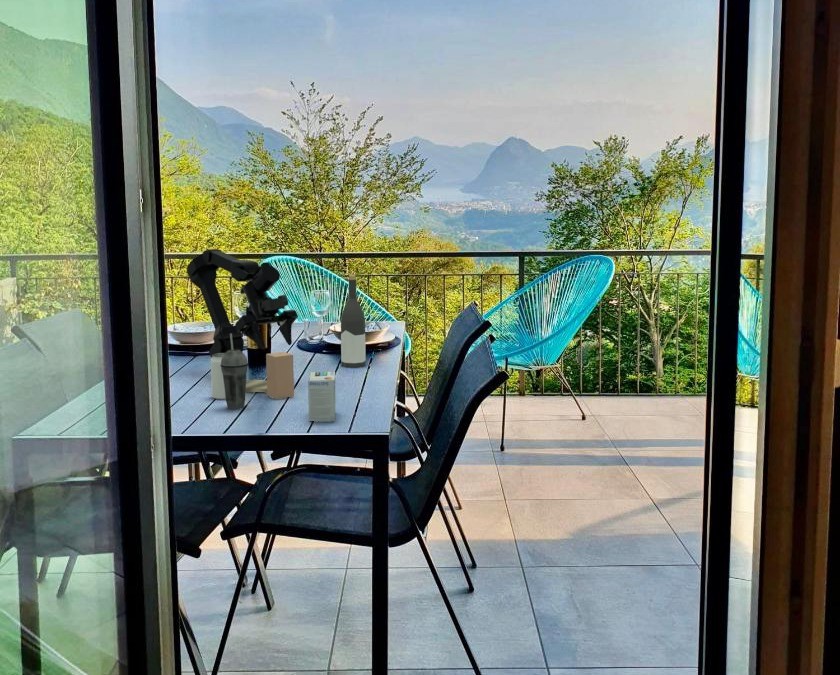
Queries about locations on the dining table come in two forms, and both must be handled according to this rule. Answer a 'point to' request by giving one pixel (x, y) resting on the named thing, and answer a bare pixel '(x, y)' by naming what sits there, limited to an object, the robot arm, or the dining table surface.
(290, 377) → the tall block
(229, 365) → the beverage cup
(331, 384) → the light bulb box
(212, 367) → the can
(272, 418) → the dining table surface
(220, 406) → the dining table surface
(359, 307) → the wine bottle
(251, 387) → the brass board
